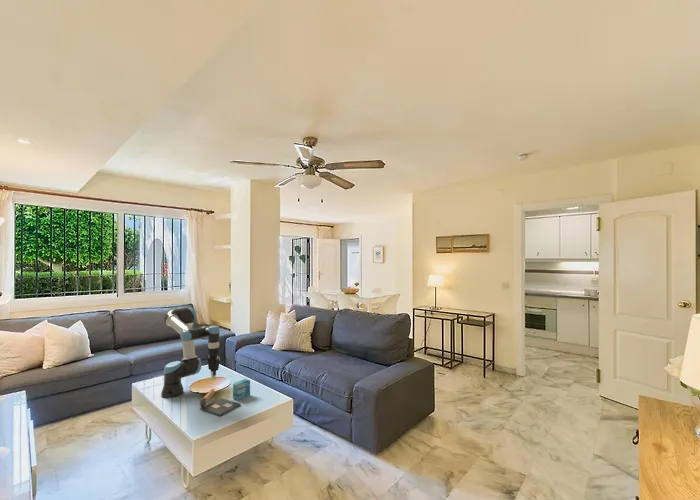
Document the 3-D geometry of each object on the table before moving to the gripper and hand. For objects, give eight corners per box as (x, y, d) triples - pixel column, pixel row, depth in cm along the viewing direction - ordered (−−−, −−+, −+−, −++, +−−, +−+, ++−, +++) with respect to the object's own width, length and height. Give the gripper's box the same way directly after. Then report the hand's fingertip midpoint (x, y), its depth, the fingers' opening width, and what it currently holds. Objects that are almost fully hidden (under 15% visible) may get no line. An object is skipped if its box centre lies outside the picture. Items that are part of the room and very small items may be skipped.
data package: (236, 401, 239) (236, 384, 239) (232, 399, 242) (232, 383, 242) (250, 395, 249) (250, 379, 249) (246, 394, 251) (246, 378, 252)
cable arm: (204, 405, 225) (204, 400, 225) (199, 406, 225) (199, 400, 225) (215, 393, 245) (215, 387, 246) (210, 393, 245) (210, 388, 245)
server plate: (199, 409, 226) (199, 405, 226) (221, 399, 241) (221, 395, 241) (219, 416, 216) (219, 412, 216) (240, 405, 232) (240, 401, 232)
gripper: (224, 347, 239) (223, 379, 239) (212, 344, 245) (211, 376, 245) (215, 349, 233) (215, 383, 232) (203, 347, 239) (203, 379, 238)
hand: (213, 379), depth 239 cm, fingers closed
